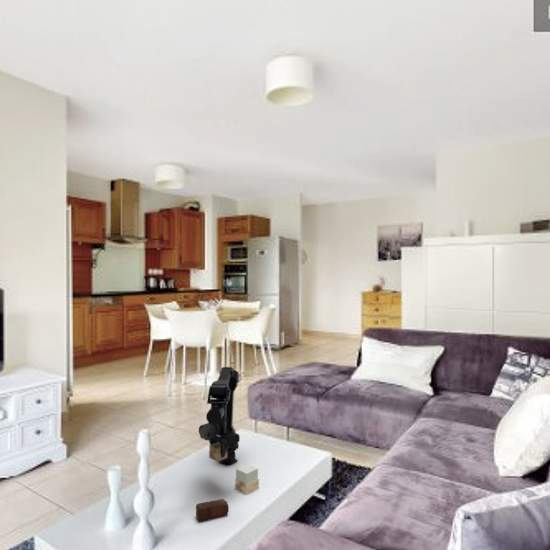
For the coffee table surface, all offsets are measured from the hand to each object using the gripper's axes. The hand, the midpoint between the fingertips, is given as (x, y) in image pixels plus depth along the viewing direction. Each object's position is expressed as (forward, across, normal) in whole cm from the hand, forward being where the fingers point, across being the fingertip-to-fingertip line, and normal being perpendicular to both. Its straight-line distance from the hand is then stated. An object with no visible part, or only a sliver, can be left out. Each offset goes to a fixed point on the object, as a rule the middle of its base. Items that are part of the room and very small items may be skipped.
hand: (218, 455), depth 163 cm
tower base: (+13, +9, +7) cm, 17 cm away
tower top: (+9, +9, +7) cm, 14 cm away
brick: (+13, +14, -14) cm, 24 cm away
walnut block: (+1, 0, 0) cm, 1 cm away
